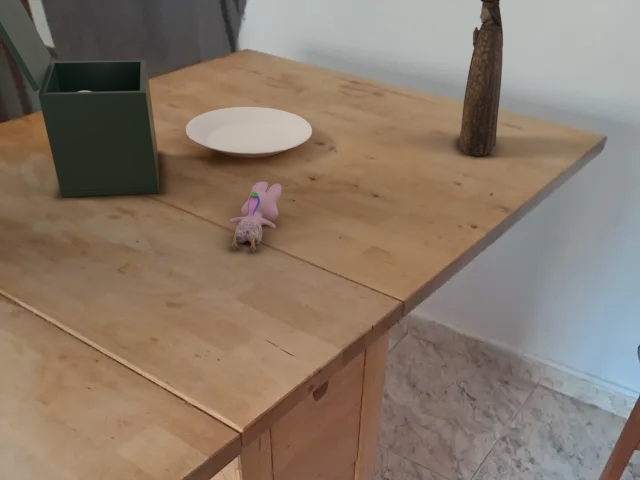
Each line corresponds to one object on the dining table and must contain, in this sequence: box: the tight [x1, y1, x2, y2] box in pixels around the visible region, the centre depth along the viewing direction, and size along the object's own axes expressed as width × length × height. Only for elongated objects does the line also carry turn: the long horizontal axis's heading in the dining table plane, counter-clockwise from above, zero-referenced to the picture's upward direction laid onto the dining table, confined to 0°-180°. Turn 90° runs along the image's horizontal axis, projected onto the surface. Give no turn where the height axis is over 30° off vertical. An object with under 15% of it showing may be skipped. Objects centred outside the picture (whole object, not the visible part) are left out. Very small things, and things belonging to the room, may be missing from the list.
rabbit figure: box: [229, 181, 283, 253], centre depth 91 cm, size 6×6×15 cm
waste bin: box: [38, 59, 160, 198], centre depth 99 cm, size 14×15×14 cm
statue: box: [459, 0, 504, 157], centre depth 109 cm, size 9×8×25 cm
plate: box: [185, 106, 313, 159], centre depth 114 cm, size 21×21×2 cm
